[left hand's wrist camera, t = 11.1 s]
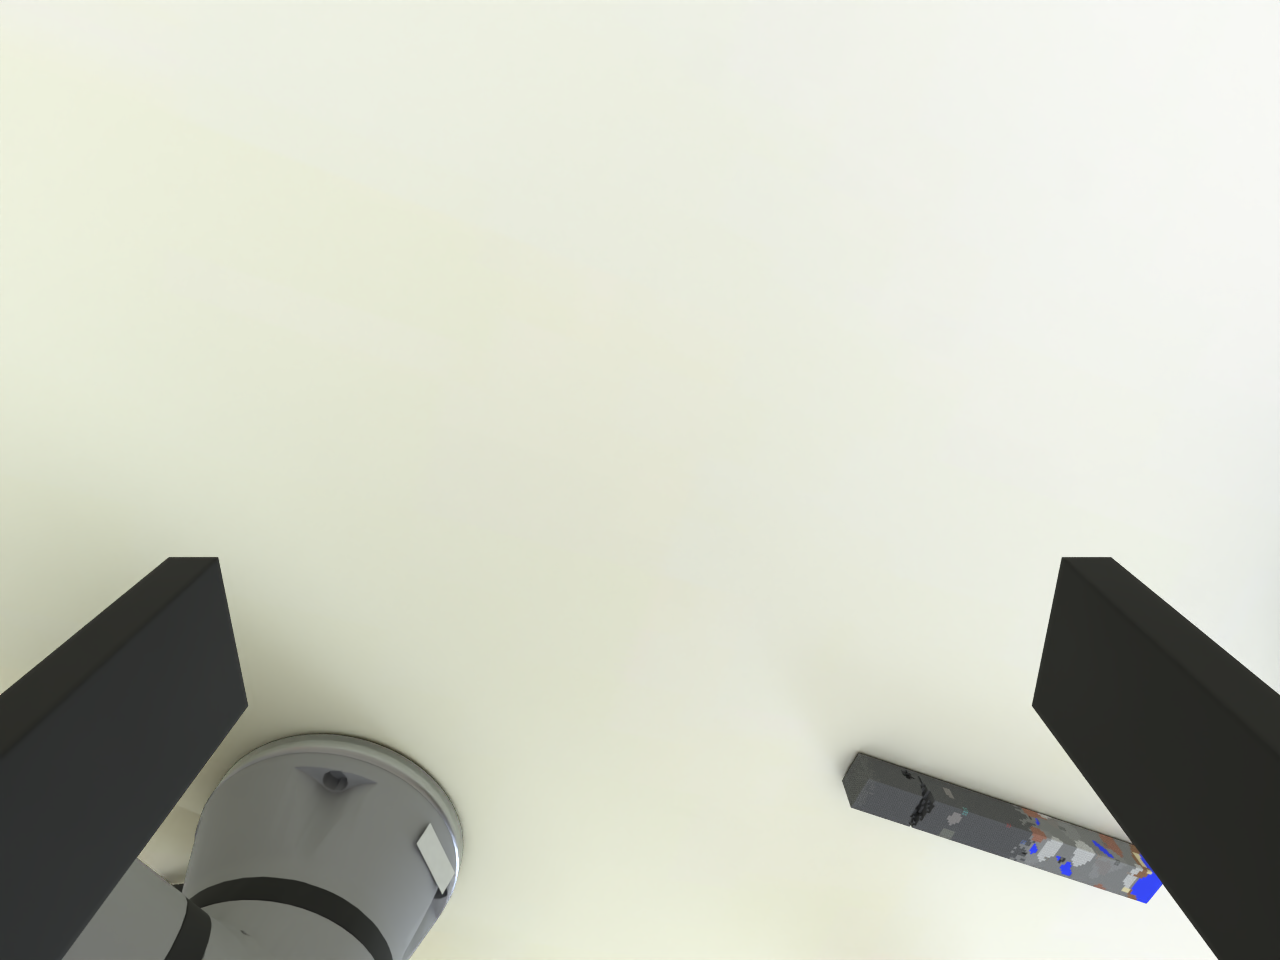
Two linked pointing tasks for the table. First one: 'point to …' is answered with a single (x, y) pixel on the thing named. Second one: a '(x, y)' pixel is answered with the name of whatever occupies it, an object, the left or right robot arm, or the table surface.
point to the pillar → (998, 828)
